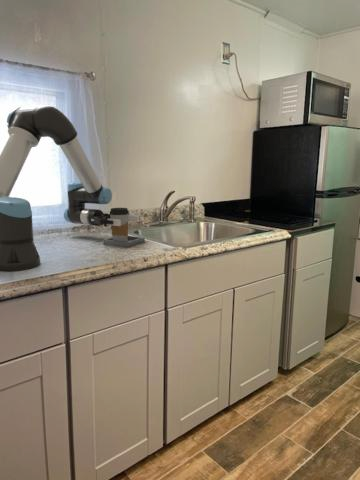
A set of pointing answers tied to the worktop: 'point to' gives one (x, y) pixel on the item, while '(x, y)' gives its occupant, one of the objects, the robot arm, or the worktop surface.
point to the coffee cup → (121, 231)
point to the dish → (130, 242)
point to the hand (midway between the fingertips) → (129, 220)
